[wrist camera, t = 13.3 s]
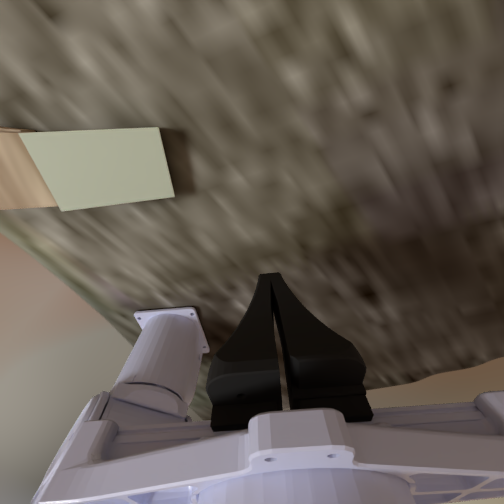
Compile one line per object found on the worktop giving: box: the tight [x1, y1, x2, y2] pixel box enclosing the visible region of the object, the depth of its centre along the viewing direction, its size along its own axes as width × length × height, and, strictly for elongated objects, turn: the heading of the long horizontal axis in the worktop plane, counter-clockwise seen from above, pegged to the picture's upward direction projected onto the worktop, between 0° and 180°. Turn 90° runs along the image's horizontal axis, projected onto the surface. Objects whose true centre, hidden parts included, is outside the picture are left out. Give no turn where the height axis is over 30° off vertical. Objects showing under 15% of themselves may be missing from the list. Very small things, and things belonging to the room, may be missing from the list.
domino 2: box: [18, 127, 175, 211], centre depth 16 cm, size 2×5×8 cm
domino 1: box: [0, 131, 58, 210], centre depth 15 cm, size 2×5×8 cm
